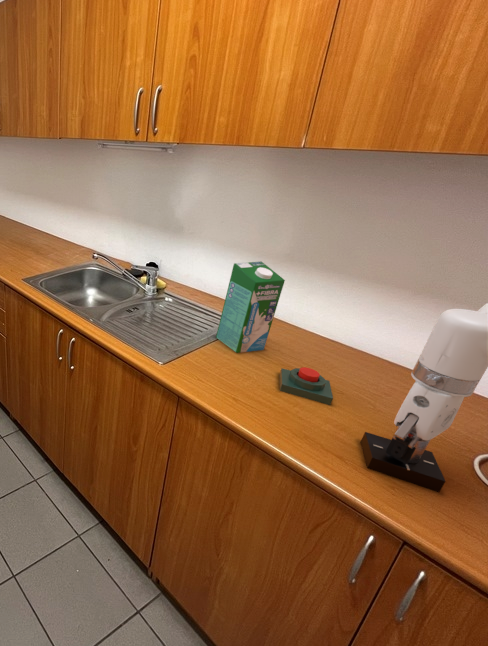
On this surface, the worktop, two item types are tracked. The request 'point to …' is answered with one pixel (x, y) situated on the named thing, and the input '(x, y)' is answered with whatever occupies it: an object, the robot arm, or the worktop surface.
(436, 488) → the dial panel
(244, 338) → the milk carton
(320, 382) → the button block
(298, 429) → the worktop surface
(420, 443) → the dial
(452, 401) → the robot arm
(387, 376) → the worktop surface
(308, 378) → the button
